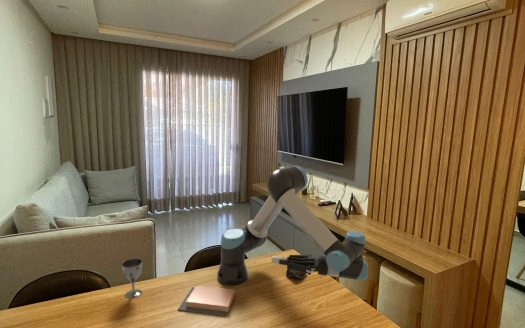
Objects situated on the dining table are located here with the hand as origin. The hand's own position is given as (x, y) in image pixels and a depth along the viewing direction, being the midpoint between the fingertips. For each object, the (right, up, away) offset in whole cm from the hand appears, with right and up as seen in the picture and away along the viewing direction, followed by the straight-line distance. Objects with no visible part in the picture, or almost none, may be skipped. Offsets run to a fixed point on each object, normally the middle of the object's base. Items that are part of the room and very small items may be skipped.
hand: (271, 259), depth 125 cm
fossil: (+13, -17, +26) cm, 33 cm away
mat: (-28, -19, +2) cm, 34 cm away
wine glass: (-62, -18, +6) cm, 64 cm away
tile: (-17, -18, +1) cm, 25 cm away
